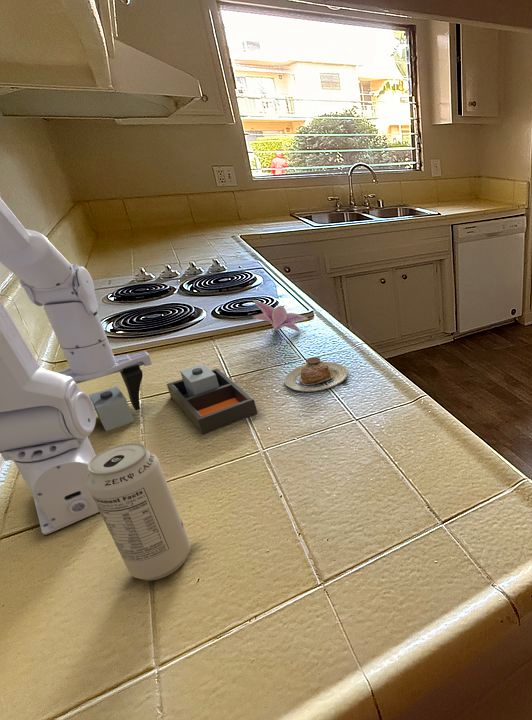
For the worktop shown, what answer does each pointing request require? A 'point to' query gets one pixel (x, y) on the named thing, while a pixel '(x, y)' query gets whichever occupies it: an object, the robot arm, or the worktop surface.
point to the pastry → (316, 374)
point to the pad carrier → (214, 403)
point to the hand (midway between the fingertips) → (114, 414)
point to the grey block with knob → (199, 380)
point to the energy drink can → (138, 510)
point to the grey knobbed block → (112, 408)
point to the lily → (278, 317)
